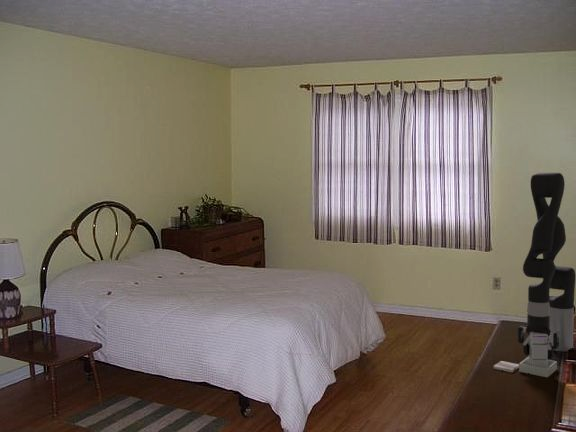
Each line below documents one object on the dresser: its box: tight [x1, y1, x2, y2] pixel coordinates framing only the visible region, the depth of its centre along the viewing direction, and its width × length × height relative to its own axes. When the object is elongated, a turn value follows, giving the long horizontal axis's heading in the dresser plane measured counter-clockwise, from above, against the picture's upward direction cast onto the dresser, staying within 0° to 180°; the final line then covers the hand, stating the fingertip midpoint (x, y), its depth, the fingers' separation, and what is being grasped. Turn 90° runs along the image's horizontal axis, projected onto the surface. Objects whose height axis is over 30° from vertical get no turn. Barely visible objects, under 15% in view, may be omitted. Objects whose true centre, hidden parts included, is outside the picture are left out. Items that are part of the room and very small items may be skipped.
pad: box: [493, 360, 519, 373], centre depth 226 cm, size 7×7×1 cm
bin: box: [518, 356, 558, 378], centre depth 222 cm, size 10×10×3 cm
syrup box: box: [528, 332, 548, 369], centre depth 222 cm, size 6×6×14 cm
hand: (538, 357), depth 222 cm, fingers closed on syrup box, 7 cm apart
